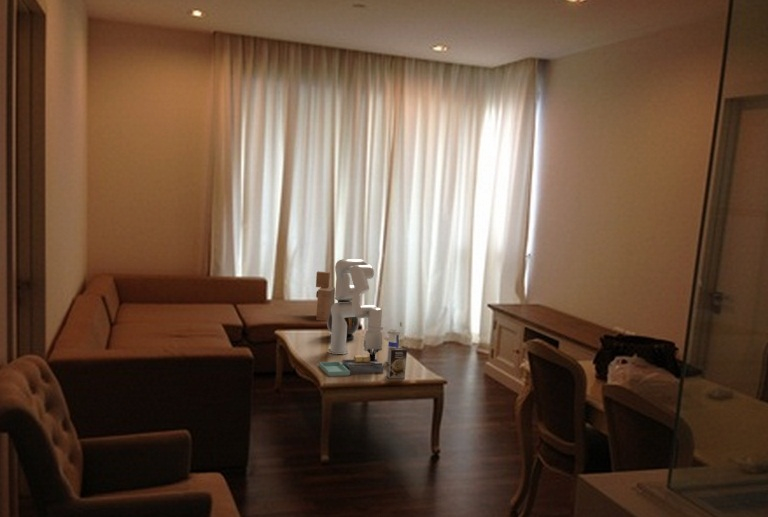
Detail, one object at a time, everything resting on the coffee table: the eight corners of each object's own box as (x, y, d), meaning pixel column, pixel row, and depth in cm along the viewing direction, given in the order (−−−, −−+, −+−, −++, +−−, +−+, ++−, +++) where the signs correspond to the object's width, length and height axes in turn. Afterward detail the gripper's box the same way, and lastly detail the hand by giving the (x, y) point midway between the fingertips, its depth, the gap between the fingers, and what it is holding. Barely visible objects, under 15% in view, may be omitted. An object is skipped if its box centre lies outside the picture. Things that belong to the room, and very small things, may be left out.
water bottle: (390, 359, 415) (393, 319, 413) (401, 362, 410) (404, 321, 407) (382, 361, 409) (385, 320, 406) (393, 364, 404) (396, 323, 401)
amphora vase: (356, 342, 454) (359, 301, 451) (324, 340, 454) (327, 299, 451) (358, 335, 475) (361, 296, 472) (327, 333, 475) (330, 294, 472)
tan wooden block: (360, 362, 389) (361, 355, 388) (367, 362, 390) (367, 355, 390) (363, 364, 385) (363, 357, 384) (369, 363, 386) (370, 357, 386)
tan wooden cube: (353, 362, 387) (353, 355, 387) (360, 362, 389) (360, 355, 388) (355, 364, 384) (356, 357, 383) (362, 364, 385) (362, 357, 385)
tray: (318, 366, 388) (318, 362, 388) (338, 365, 393) (339, 361, 393) (328, 376, 370) (329, 371, 370) (349, 375, 374) (350, 371, 374)
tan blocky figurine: (315, 315, 538) (318, 271, 534) (333, 316, 537) (335, 272, 533) (310, 319, 519) (313, 274, 516) (329, 321, 518) (332, 275, 514)
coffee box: (389, 378, 374) (391, 350, 372) (386, 375, 380) (388, 347, 378) (405, 378, 376) (407, 350, 375) (401, 375, 382) (403, 347, 381)
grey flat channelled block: (341, 367, 390) (342, 358, 390) (374, 365, 398) (375, 357, 397) (349, 373, 377) (350, 365, 377) (383, 372, 385) (383, 364, 384)
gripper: (383, 327, 393) (381, 358, 395) (359, 328, 388) (357, 359, 389) (388, 330, 386) (386, 361, 388) (364, 330, 381) (362, 362, 383)
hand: (372, 360), depth 389 cm, fingers closed
